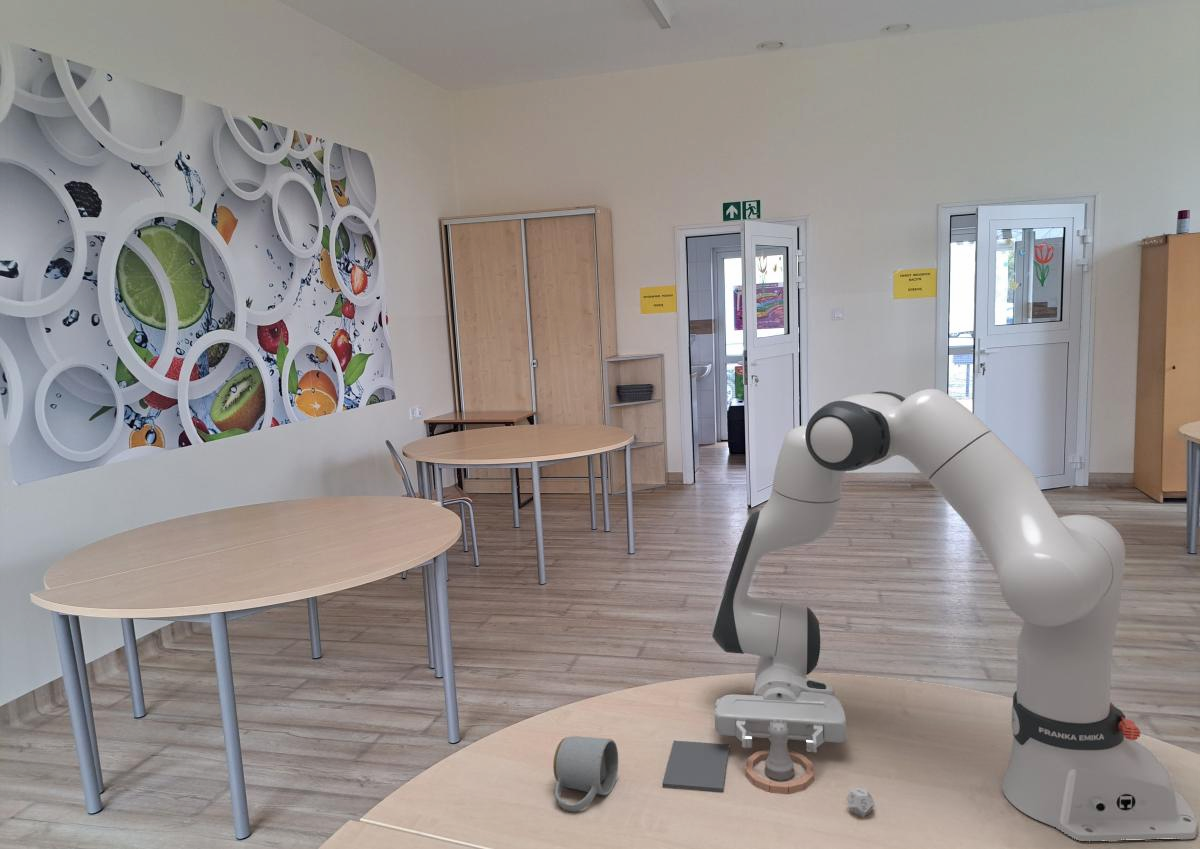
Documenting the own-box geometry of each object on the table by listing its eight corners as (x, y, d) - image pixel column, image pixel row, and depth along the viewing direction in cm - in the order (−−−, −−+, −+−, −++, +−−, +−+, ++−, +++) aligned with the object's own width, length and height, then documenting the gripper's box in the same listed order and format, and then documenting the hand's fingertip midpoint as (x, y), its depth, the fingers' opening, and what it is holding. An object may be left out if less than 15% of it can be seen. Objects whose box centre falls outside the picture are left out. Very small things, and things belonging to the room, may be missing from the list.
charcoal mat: (729, 747, 129) (729, 744, 129) (723, 792, 117) (723, 788, 117) (673, 743, 131) (673, 740, 131) (662, 787, 119) (662, 783, 119)
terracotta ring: (812, 757, 125) (812, 751, 125) (814, 795, 115) (814, 789, 115) (747, 752, 127) (747, 746, 127) (744, 789, 117) (744, 783, 117)
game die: (864, 823, 109) (864, 803, 108) (841, 810, 112) (841, 790, 111) (879, 812, 111) (879, 793, 110) (857, 800, 114) (856, 781, 113)
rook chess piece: (790, 763, 123) (789, 715, 122) (798, 780, 119) (797, 730, 118) (761, 766, 123) (760, 717, 122) (768, 783, 119) (767, 732, 118)
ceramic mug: (572, 768, 126) (568, 722, 125) (620, 776, 123) (617, 730, 122) (543, 809, 116) (538, 761, 115) (595, 819, 113) (591, 769, 112)
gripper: (716, 679, 135) (708, 721, 122) (842, 685, 130) (848, 730, 117) (717, 714, 136) (709, 759, 122) (843, 722, 131) (849, 770, 118)
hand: (778, 745), depth 120 cm, fingers open, 8 cm apart
